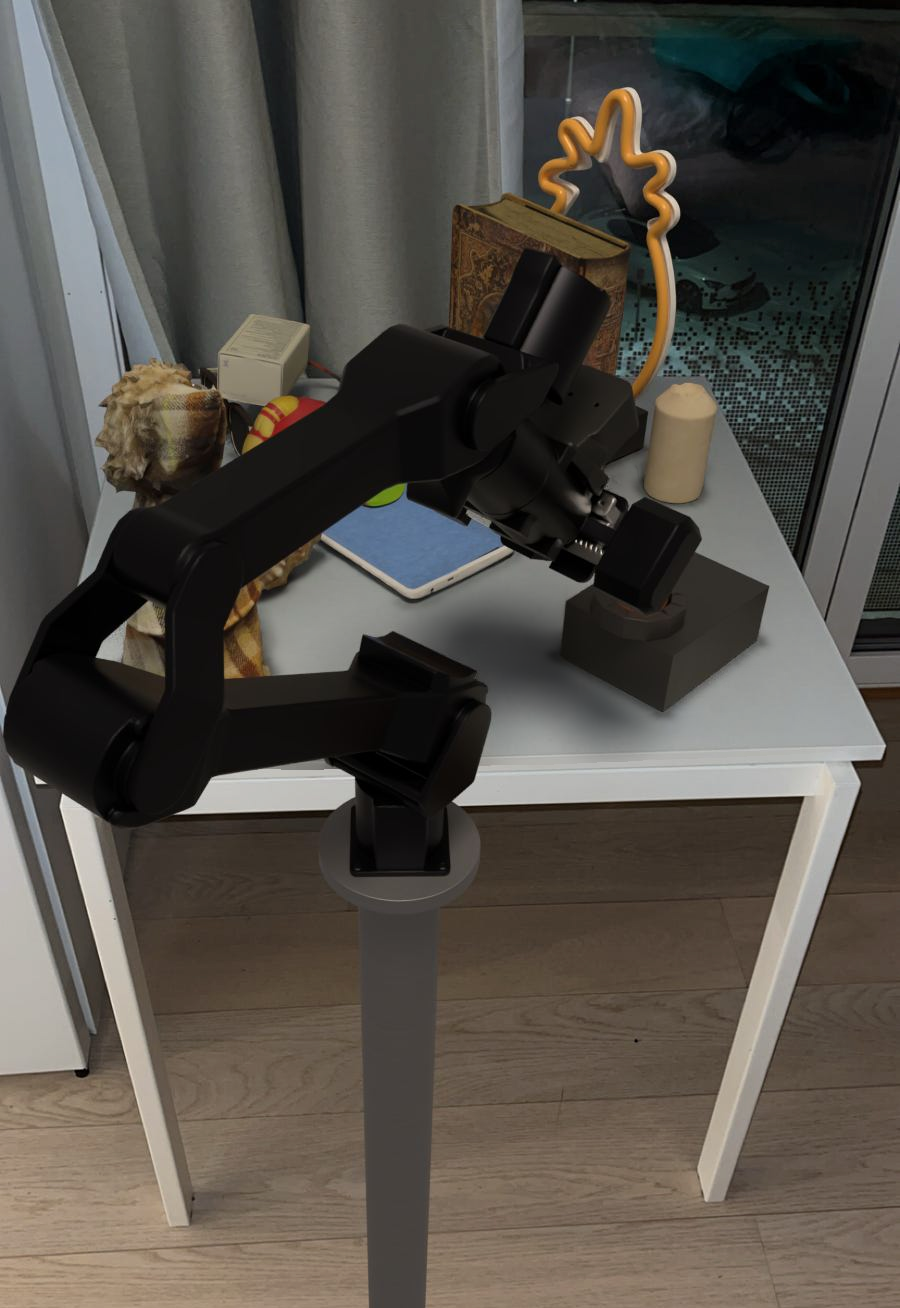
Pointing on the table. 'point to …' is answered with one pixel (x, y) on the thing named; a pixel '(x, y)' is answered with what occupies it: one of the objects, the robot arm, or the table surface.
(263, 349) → the cosmetic box
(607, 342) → the book
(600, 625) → the button base
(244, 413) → the sunglasses
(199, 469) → the brown cream tall piece
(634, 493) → the table surface
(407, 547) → the tablet
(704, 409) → the candle
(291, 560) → the seashell
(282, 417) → the toy
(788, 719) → the table surface
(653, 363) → the lamp
